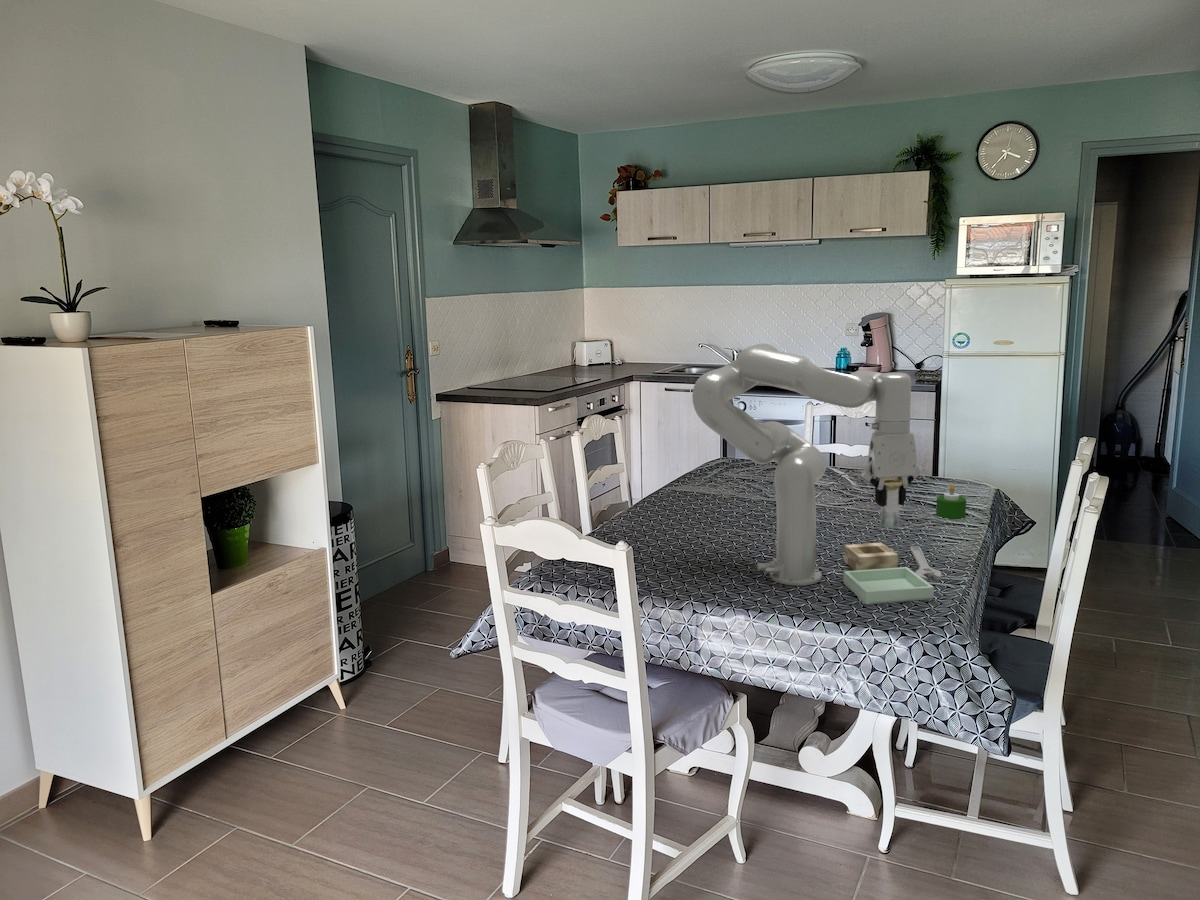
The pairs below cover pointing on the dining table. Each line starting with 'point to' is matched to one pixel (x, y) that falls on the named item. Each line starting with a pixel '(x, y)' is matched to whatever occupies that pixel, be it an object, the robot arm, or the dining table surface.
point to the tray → (888, 585)
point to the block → (870, 556)
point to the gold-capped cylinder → (891, 503)
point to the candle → (951, 505)
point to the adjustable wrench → (924, 565)
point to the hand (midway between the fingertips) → (890, 503)
